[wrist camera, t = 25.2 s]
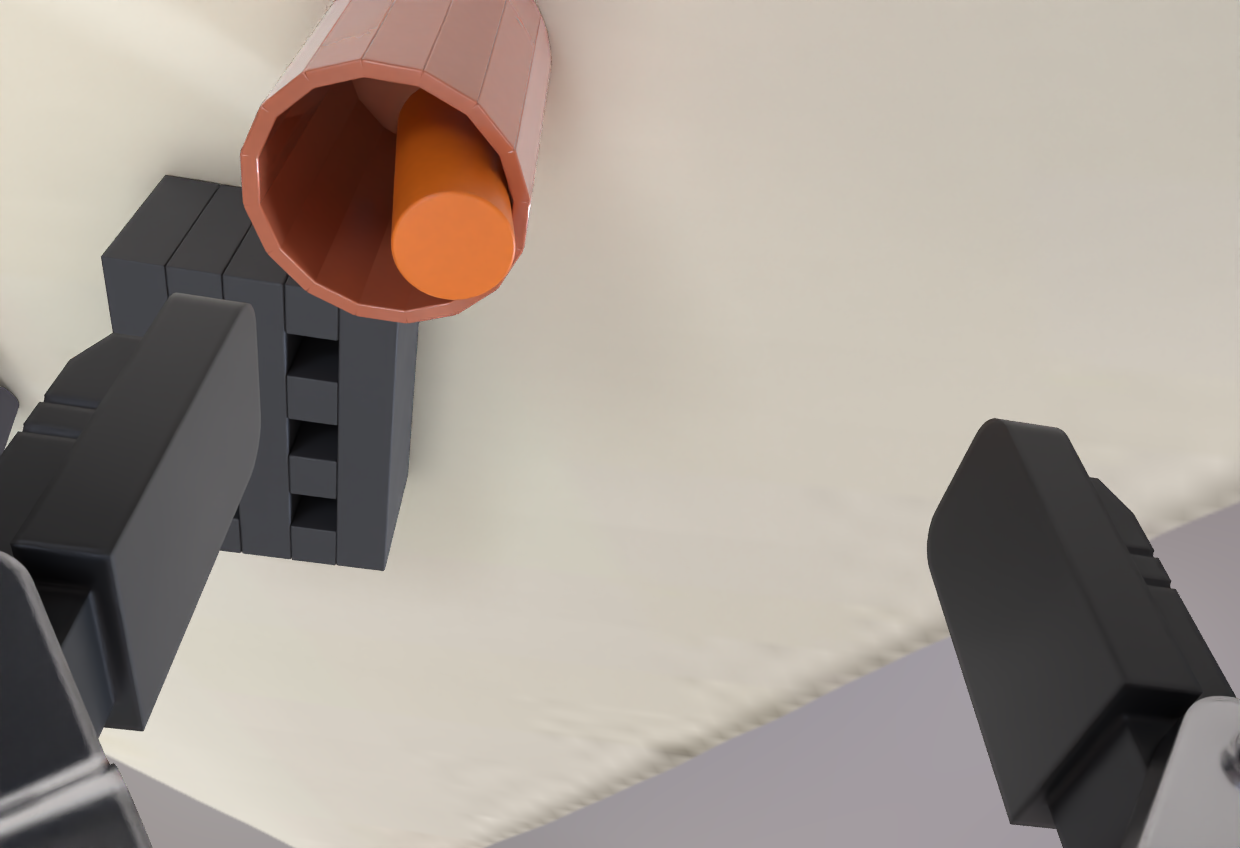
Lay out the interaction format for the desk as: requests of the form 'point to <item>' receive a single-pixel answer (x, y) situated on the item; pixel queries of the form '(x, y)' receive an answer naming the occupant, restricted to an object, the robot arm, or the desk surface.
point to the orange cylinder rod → (448, 203)
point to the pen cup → (386, 137)
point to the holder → (283, 378)
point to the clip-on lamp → (6, 415)
